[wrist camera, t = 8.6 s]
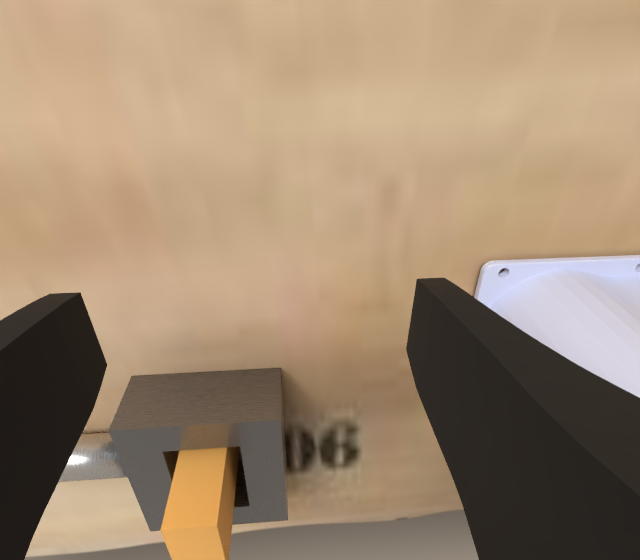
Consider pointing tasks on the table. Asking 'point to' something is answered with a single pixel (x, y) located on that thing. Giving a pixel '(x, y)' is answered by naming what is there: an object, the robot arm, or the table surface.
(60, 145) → the table surface
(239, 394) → the grey peg hole fixture
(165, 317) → the table surface
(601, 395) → the robot arm
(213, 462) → the tall orange cuboid
